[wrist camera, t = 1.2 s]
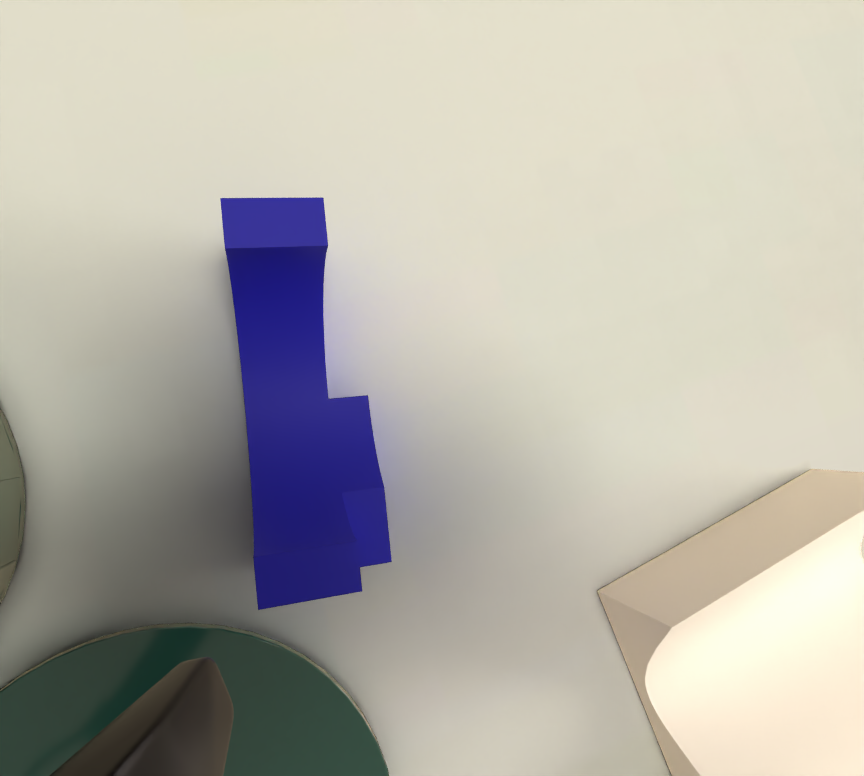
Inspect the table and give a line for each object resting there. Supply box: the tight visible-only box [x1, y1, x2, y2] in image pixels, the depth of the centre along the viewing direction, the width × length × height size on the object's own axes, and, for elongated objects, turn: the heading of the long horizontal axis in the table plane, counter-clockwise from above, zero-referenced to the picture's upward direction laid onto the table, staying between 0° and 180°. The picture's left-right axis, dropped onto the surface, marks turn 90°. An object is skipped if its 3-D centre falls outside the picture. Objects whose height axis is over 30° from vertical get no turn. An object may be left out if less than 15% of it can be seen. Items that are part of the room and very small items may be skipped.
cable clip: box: [220, 198, 392, 610], centre depth 21 cm, size 12×4×6 cm, turn 6°
